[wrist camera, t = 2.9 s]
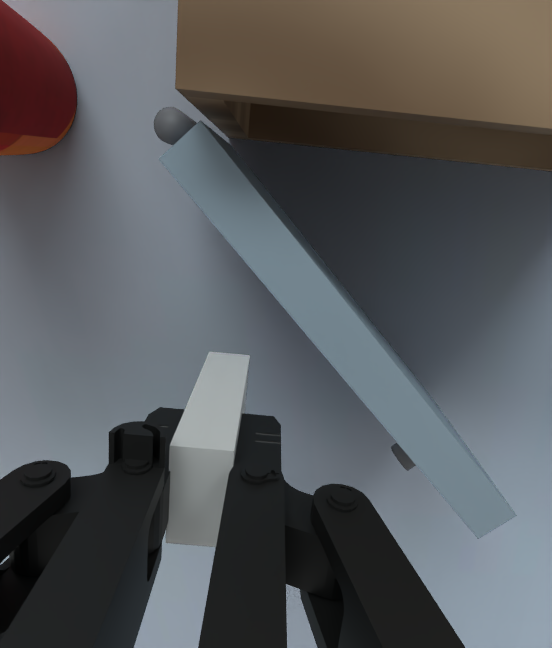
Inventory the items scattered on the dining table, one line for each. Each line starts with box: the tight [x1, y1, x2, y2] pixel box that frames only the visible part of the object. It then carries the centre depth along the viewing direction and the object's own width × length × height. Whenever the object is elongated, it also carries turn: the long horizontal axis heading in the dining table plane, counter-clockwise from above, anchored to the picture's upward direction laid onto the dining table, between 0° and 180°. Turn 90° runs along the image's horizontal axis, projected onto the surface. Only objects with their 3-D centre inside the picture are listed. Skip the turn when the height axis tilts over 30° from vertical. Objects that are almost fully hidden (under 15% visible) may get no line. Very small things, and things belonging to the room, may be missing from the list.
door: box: [154, 107, 517, 539], centre depth 19 cm, size 3×18×9 cm, turn 39°
